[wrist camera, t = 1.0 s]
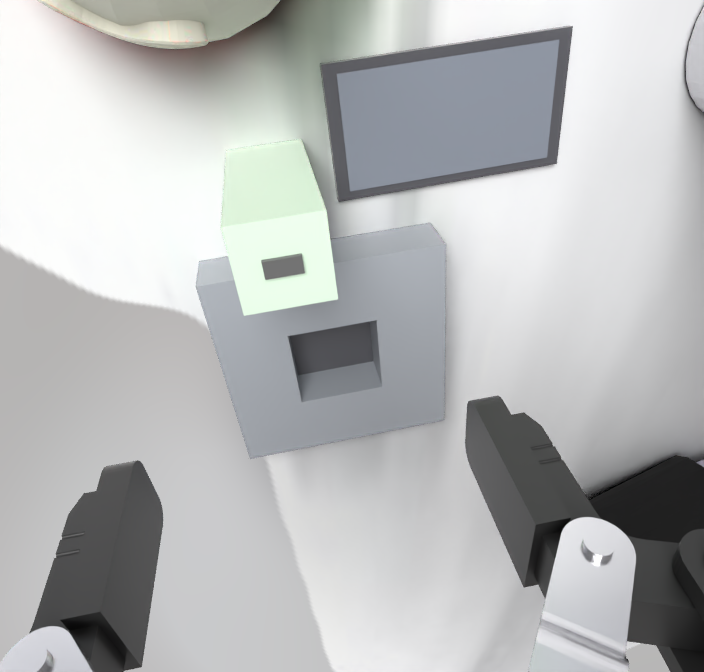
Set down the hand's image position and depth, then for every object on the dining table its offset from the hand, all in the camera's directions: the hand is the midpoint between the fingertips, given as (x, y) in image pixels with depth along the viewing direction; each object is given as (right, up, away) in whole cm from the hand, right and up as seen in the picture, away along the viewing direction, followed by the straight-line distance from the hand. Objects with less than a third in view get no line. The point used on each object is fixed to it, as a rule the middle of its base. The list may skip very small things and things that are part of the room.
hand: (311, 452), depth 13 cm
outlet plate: (0, +3, +23) cm, 23 cm away
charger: (-3, +11, +16) cm, 20 cm away
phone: (+6, +15, +16) cm, 23 cm away
